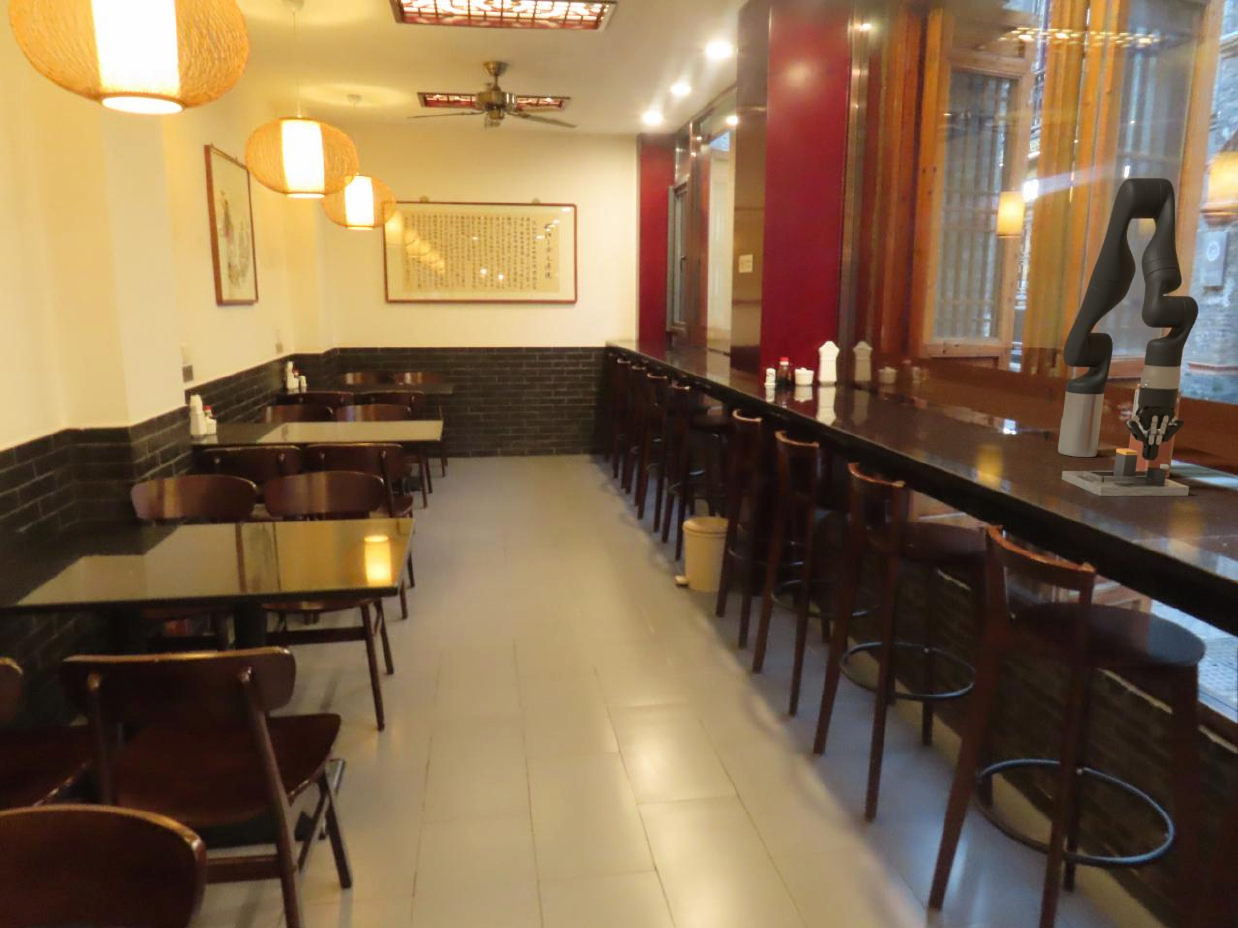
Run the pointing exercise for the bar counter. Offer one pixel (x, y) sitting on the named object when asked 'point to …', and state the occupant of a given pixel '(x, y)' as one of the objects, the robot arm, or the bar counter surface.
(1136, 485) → the breaker board
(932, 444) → the bar counter surface
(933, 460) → the bar counter surface
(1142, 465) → the orange rectangular box
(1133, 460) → the block
